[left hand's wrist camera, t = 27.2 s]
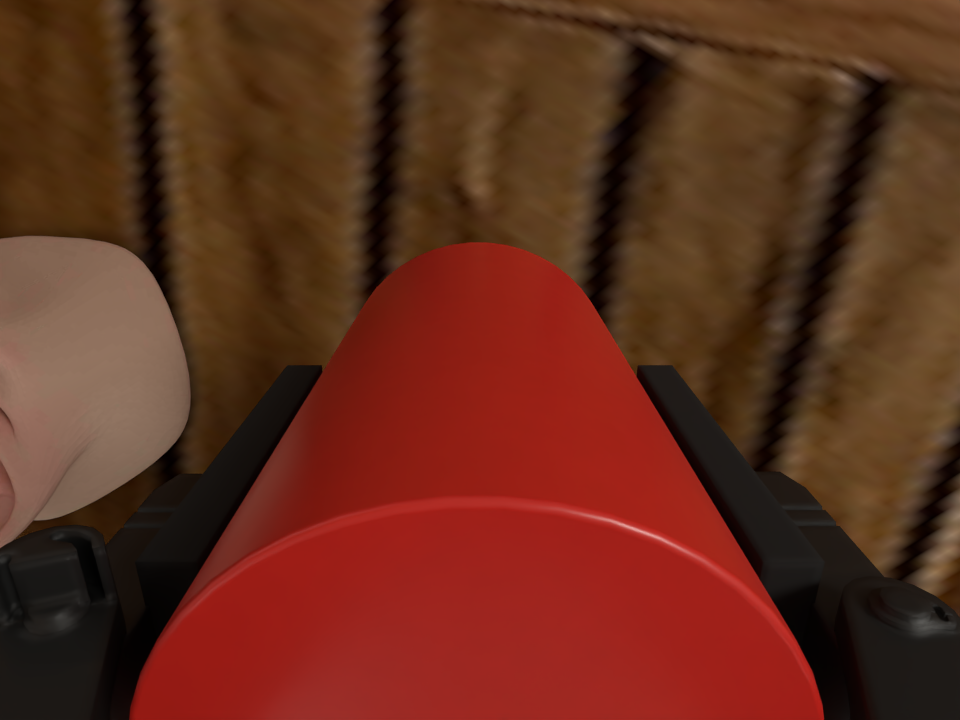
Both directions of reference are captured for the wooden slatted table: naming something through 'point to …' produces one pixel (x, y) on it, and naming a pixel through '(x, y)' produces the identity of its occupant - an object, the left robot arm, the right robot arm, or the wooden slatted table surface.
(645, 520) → the canister
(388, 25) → the wooden slatted table surface
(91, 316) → the anatomical model
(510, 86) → the wooden slatted table surface
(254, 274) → the wooden slatted table surface
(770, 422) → the wooden slatted table surface
